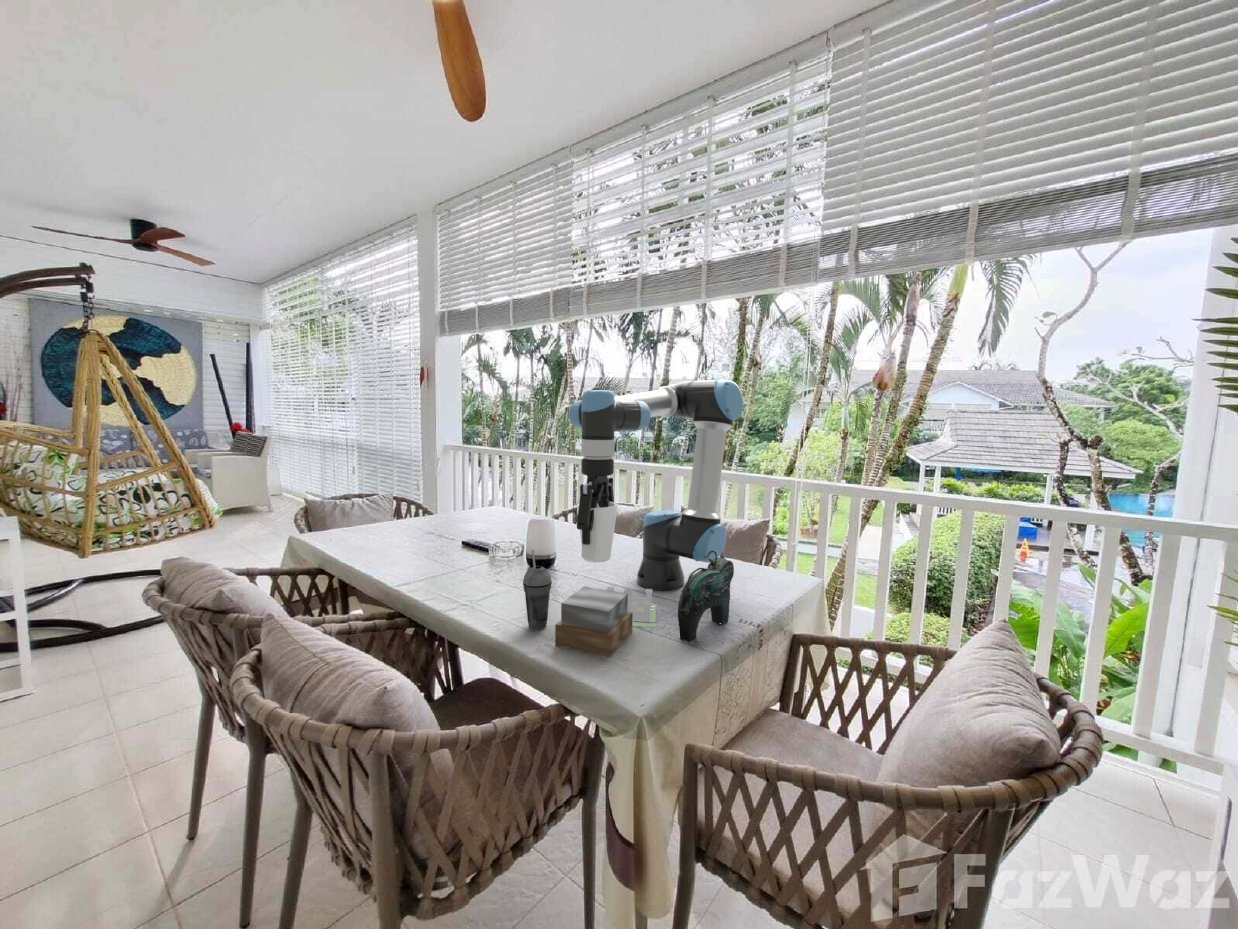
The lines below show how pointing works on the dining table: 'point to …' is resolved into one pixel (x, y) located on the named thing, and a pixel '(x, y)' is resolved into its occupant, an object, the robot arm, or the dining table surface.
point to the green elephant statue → (705, 596)
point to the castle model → (640, 607)
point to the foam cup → (602, 531)
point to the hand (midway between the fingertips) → (596, 551)
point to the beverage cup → (537, 595)
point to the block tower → (594, 621)
